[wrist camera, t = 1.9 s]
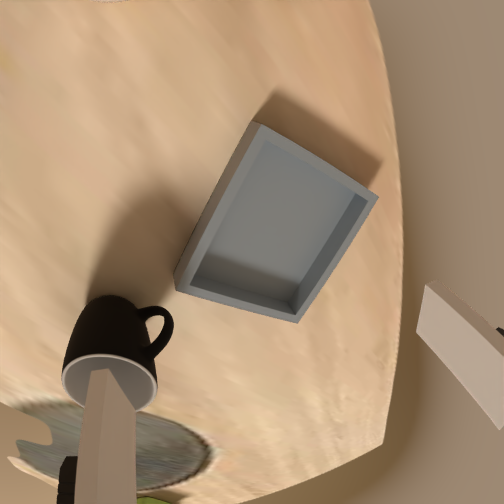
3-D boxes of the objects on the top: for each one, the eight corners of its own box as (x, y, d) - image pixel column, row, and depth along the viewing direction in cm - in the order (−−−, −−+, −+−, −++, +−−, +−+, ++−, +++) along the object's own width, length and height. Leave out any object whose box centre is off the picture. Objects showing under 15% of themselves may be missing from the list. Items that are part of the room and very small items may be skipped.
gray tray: (173, 274, 33) (175, 290, 30) (251, 120, 28) (261, 123, 25) (288, 308, 40) (297, 323, 37) (363, 187, 34) (379, 196, 32)
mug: (108, 356, 35) (106, 424, 27) (59, 308, 30) (41, 377, 22) (188, 313, 36) (204, 382, 27) (144, 255, 31) (145, 321, 22)
